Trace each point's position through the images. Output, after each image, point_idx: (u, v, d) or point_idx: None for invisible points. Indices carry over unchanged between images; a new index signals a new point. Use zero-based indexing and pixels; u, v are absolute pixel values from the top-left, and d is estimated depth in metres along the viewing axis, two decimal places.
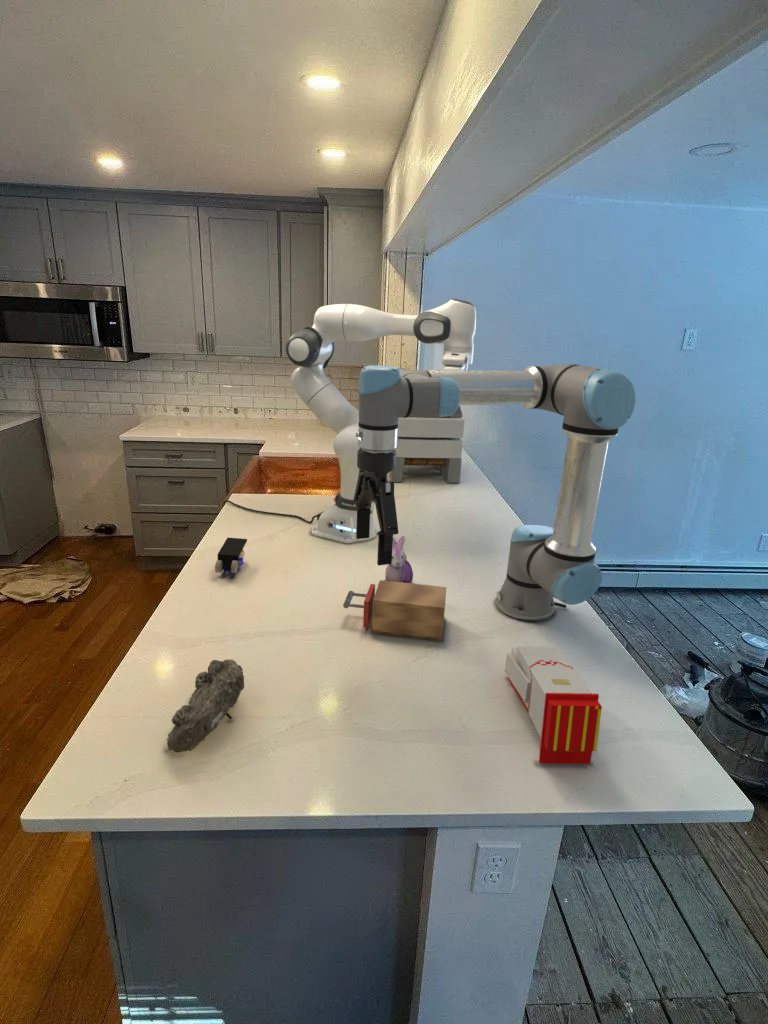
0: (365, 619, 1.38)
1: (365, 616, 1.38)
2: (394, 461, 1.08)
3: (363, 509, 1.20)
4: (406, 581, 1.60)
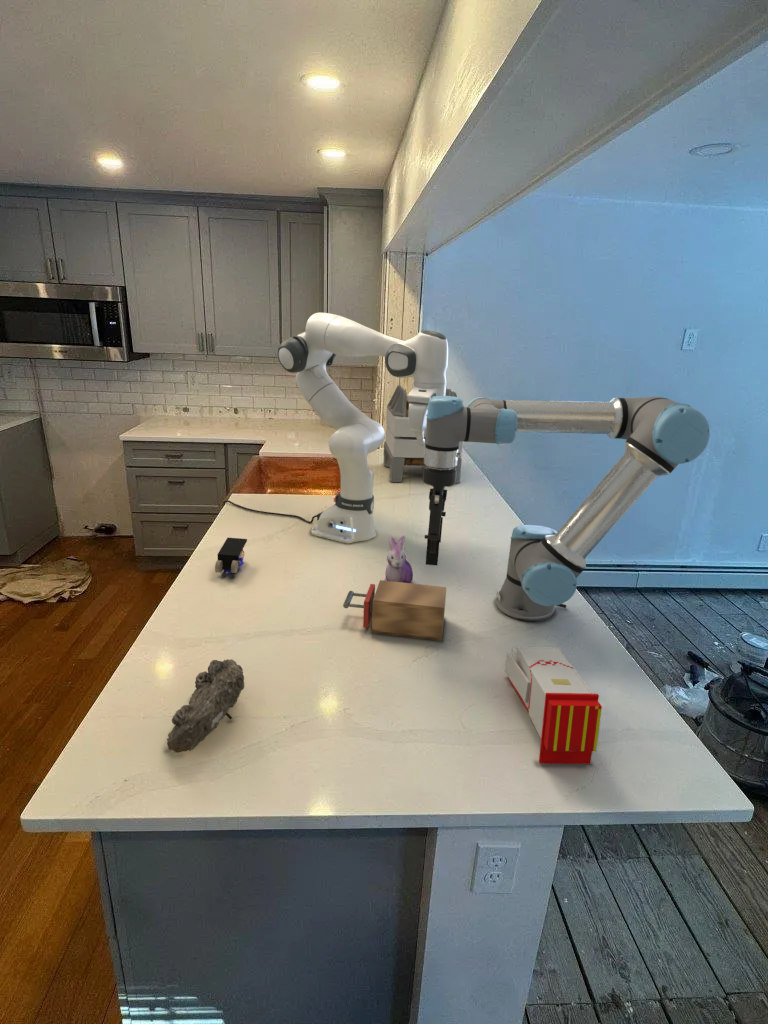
0: (365, 619, 1.38)
1: (365, 616, 1.38)
2: None
3: None
4: (406, 581, 1.60)
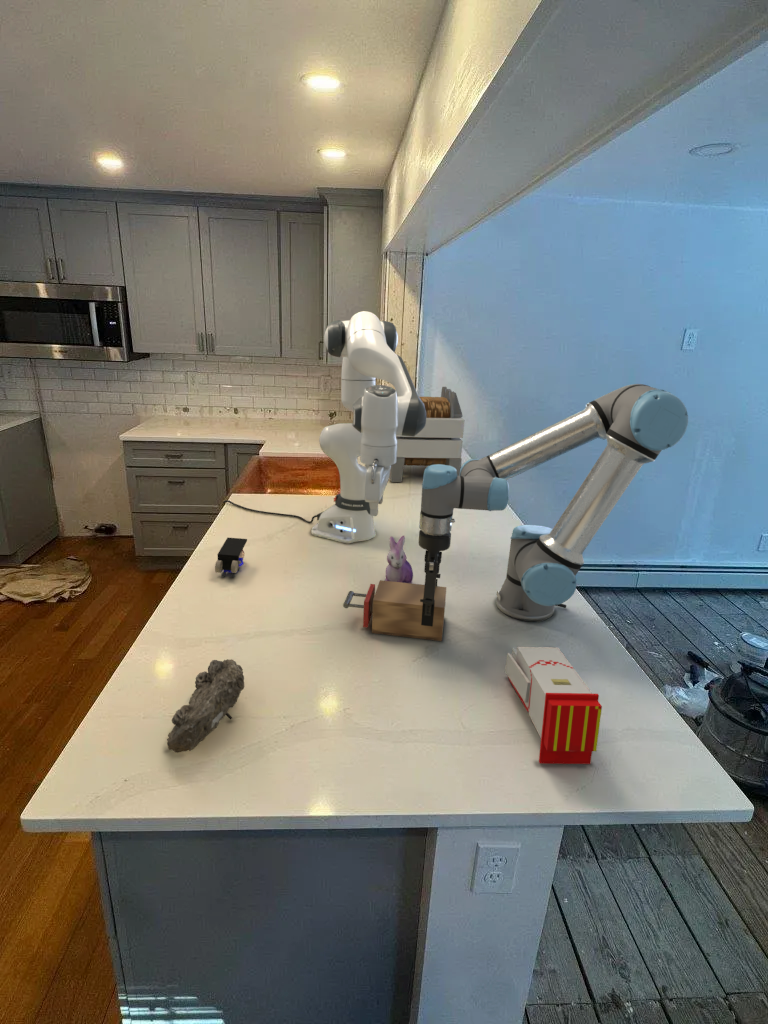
0: (365, 619, 1.38)
1: (365, 616, 1.38)
2: None
3: None
4: (406, 581, 1.60)
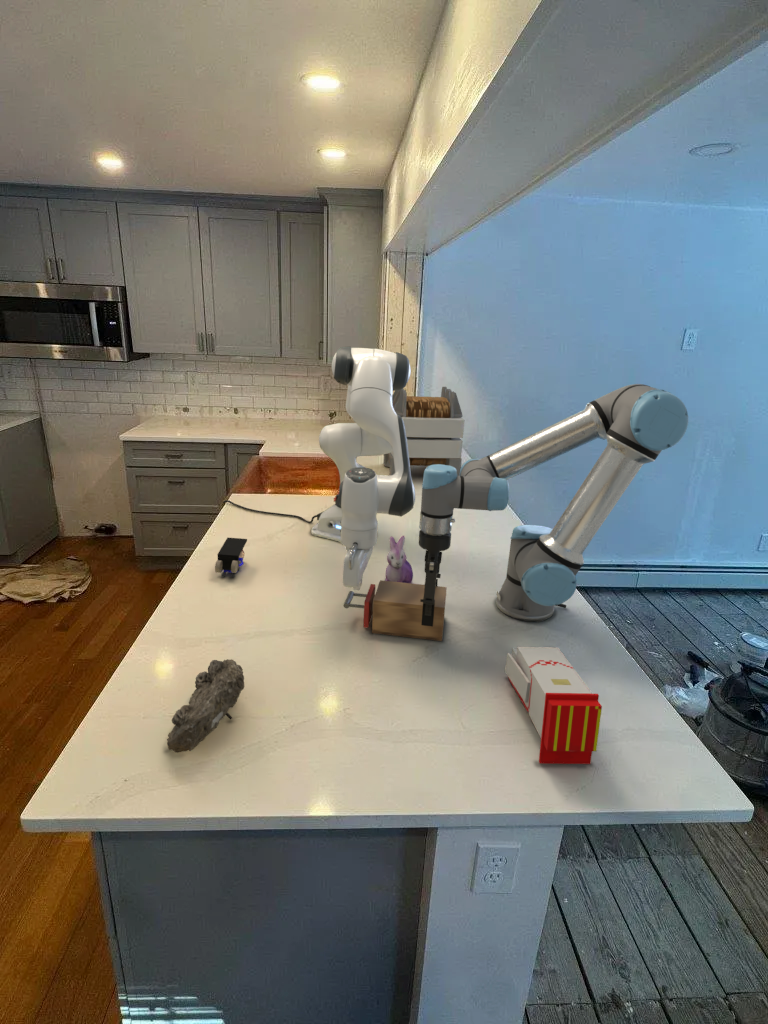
0: (365, 619, 1.38)
1: (365, 616, 1.38)
2: None
3: None
4: (406, 581, 1.60)
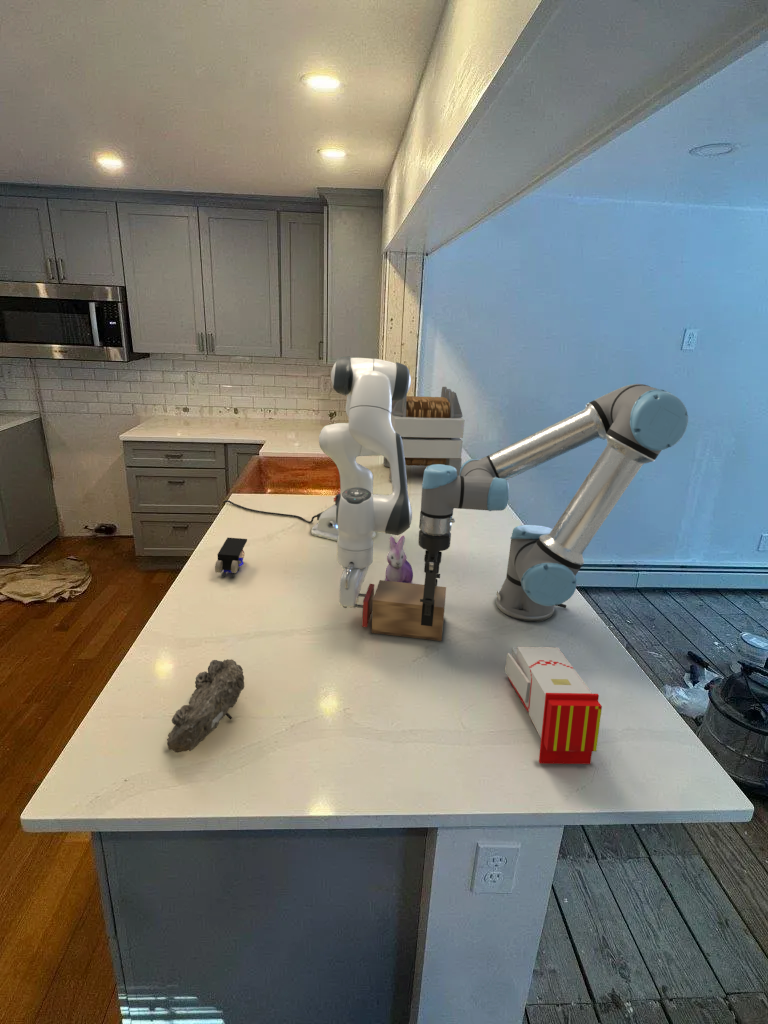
0: (364, 619, 1.38)
1: (364, 616, 1.38)
2: None
3: None
4: (406, 581, 1.60)
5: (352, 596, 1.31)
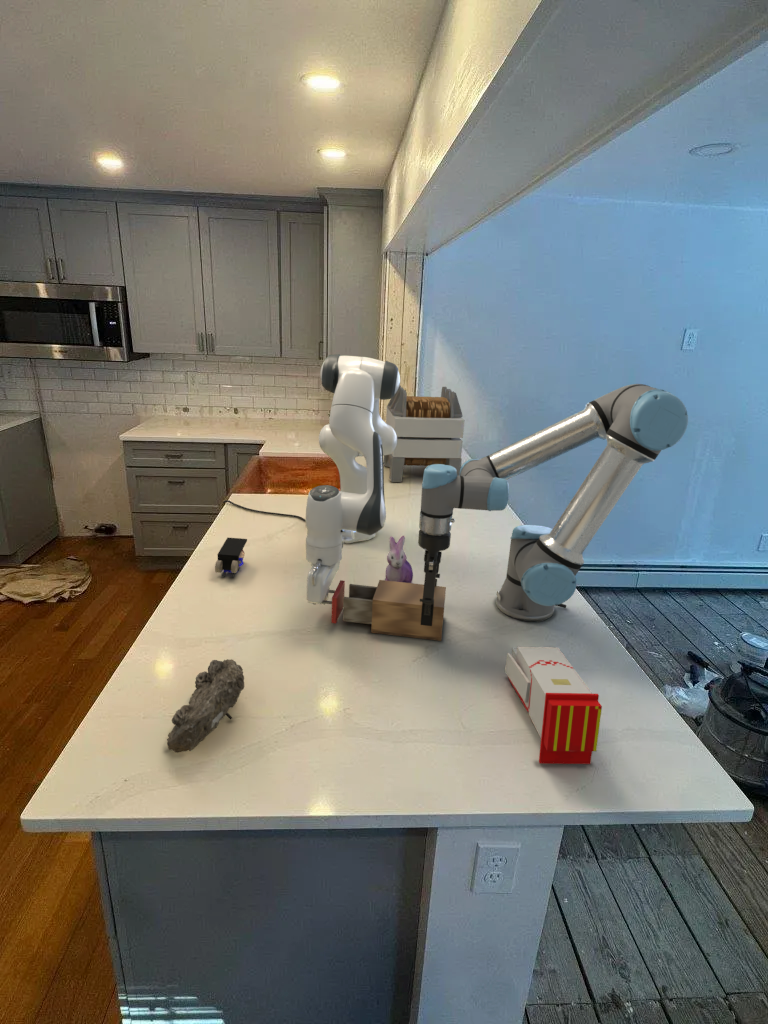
0: (333, 615, 1.39)
1: (333, 612, 1.39)
2: None
3: None
4: (406, 581, 1.60)
5: (319, 593, 1.32)
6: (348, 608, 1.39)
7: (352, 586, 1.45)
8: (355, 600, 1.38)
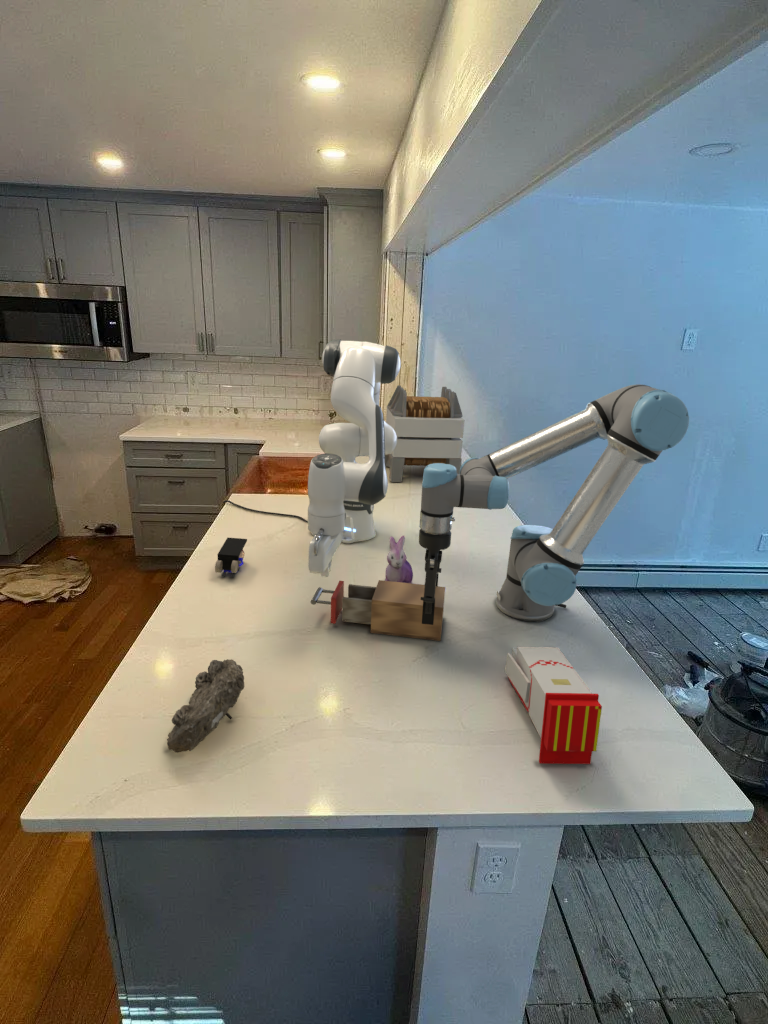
0: (332, 615, 1.39)
1: (332, 612, 1.39)
2: None
3: None
4: (406, 581, 1.60)
5: (321, 562, 1.29)
6: (347, 608, 1.39)
7: (351, 586, 1.45)
8: (354, 600, 1.38)
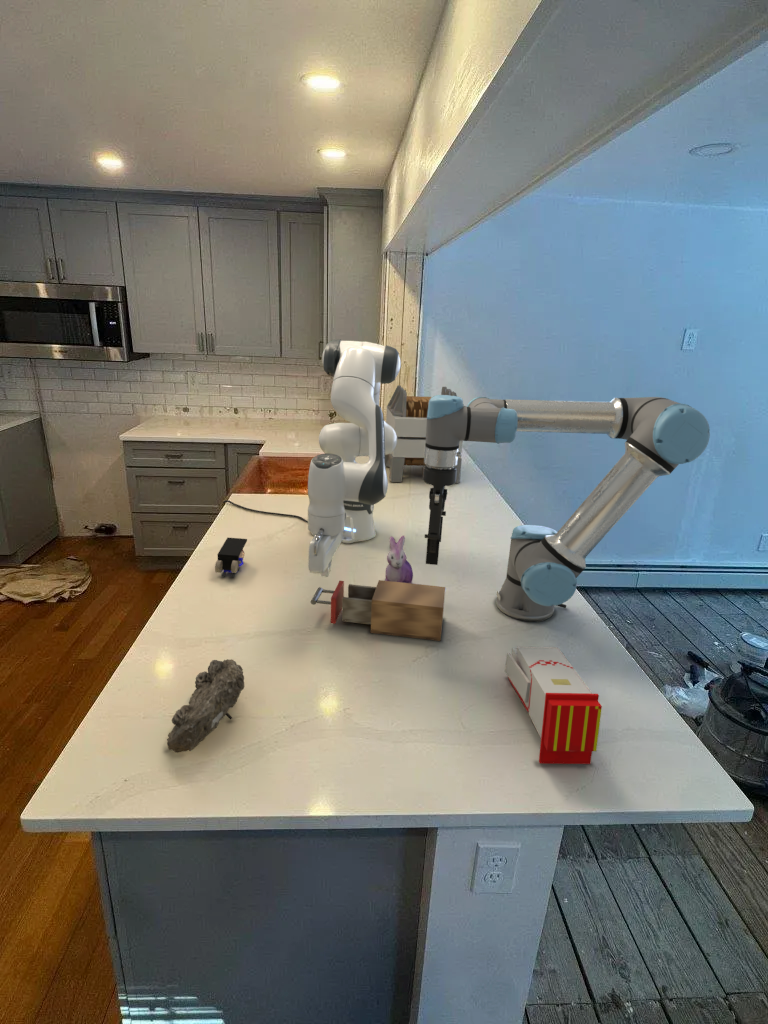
0: (332, 615, 1.39)
1: (332, 612, 1.39)
2: None
3: None
4: (406, 581, 1.60)
5: (321, 562, 1.29)
6: (347, 608, 1.39)
7: (351, 586, 1.45)
8: (354, 600, 1.38)
